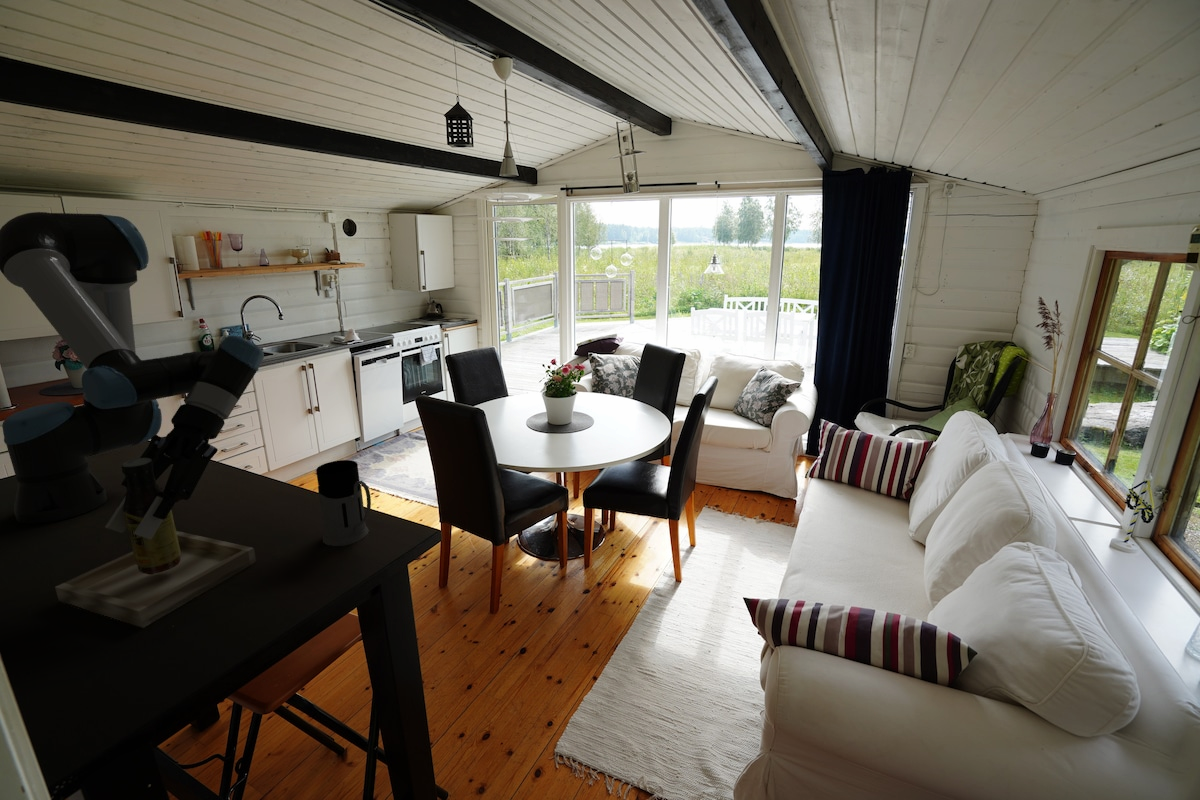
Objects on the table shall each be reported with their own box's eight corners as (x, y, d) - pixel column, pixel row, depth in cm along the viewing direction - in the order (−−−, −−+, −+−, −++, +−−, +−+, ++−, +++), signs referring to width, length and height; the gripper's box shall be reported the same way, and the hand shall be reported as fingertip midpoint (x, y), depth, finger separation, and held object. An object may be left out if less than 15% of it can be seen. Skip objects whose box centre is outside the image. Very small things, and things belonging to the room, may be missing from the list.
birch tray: (59, 602, 94) (54, 586, 93) (180, 544, 112) (177, 531, 111) (143, 627, 88) (139, 611, 87) (256, 562, 106) (253, 547, 105)
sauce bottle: (135, 567, 99) (108, 461, 94) (178, 553, 104) (154, 451, 98) (142, 581, 95) (114, 471, 90) (187, 566, 99) (162, 460, 94)
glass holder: (352, 521, 122) (344, 455, 118) (394, 539, 114) (386, 470, 110) (313, 538, 115) (303, 469, 111) (354, 559, 107) (345, 485, 103)
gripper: (258, 426, 104) (188, 549, 94) (184, 417, 110) (110, 531, 100) (227, 406, 98) (148, 535, 88) (150, 397, 104) (67, 517, 94)
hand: (128, 533), depth 94 cm, fingers closed on sauce bottle, 6 cm apart
